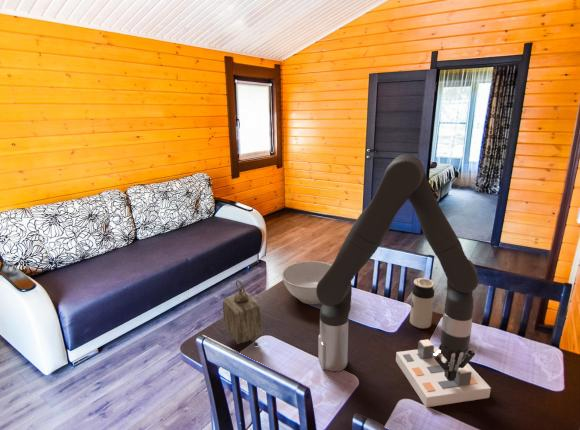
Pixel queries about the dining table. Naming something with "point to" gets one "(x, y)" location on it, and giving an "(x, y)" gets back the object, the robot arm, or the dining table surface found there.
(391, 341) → the dining table surface
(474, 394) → the tray
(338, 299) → the robot arm
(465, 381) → the grey block
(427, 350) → the knob far
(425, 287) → the travel mug
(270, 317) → the dining table surface
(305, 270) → the decorative bowl
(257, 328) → the brown wooden lantern
